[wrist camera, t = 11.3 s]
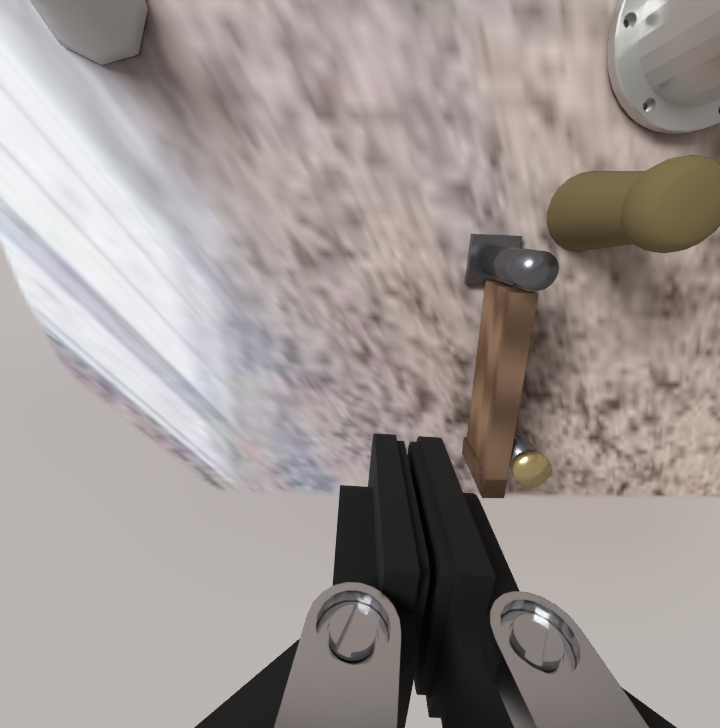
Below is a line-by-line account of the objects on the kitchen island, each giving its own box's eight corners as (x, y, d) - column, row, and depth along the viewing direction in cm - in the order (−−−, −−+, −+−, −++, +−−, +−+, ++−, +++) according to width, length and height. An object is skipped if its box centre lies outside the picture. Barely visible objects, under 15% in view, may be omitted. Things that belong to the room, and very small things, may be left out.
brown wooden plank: (482, 280, 32) (511, 293, 25) (503, 280, 32) (538, 293, 25) (462, 453, 37) (482, 497, 31) (480, 453, 37) (504, 498, 31)
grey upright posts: (550, 237, 31) (620, 240, 23) (510, 435, 38) (554, 495, 29) (471, 234, 31) (512, 235, 23) (444, 433, 38) (469, 493, 29)
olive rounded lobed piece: (637, 187, 30) (783, 166, 20) (597, 261, 32) (710, 277, 22) (570, 159, 29) (685, 121, 19) (533, 236, 31) (619, 240, 21)
